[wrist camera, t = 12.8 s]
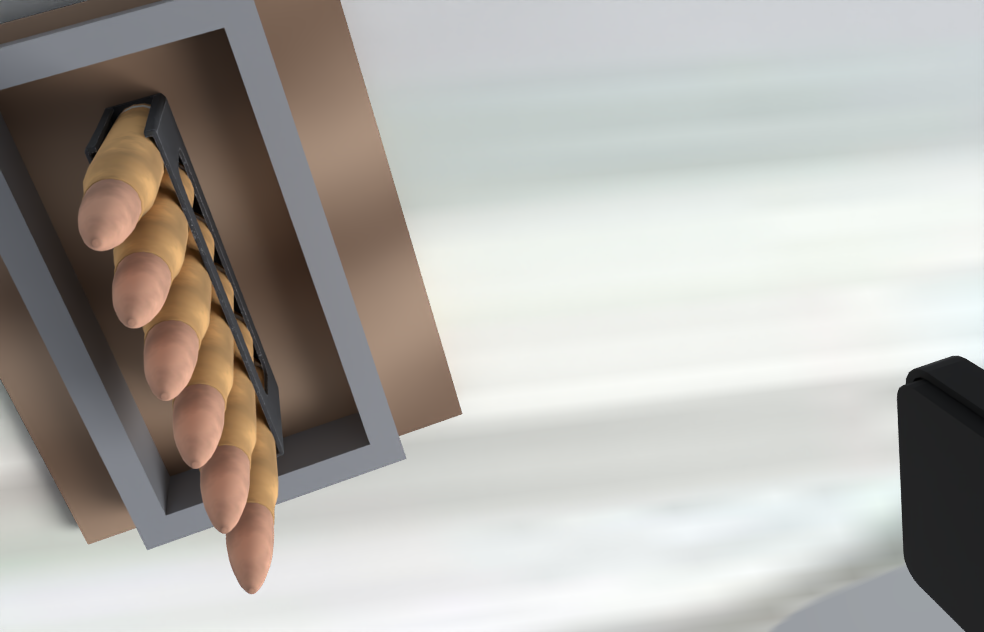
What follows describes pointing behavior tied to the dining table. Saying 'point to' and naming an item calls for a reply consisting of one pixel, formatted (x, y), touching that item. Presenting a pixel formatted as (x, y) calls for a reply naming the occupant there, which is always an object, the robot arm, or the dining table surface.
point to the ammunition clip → (188, 321)
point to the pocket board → (244, 233)
